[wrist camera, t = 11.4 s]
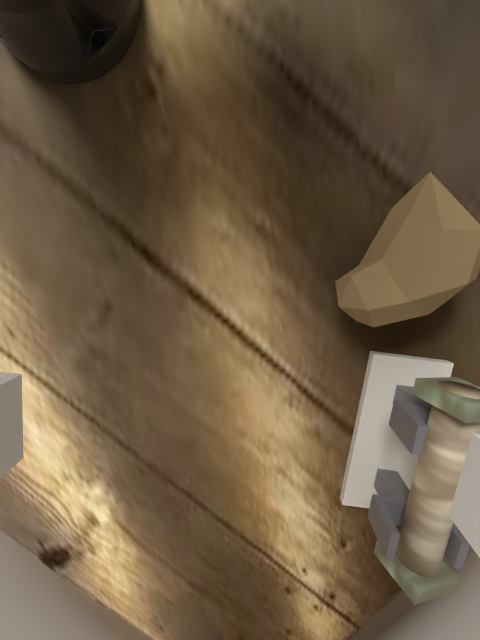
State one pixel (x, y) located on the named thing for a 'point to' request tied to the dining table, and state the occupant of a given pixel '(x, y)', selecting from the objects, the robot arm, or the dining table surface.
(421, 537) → the column
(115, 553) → the dining table surface
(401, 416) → the bracket
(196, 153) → the dining table surface
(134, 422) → the dining table surface
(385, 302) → the low-poly potato
